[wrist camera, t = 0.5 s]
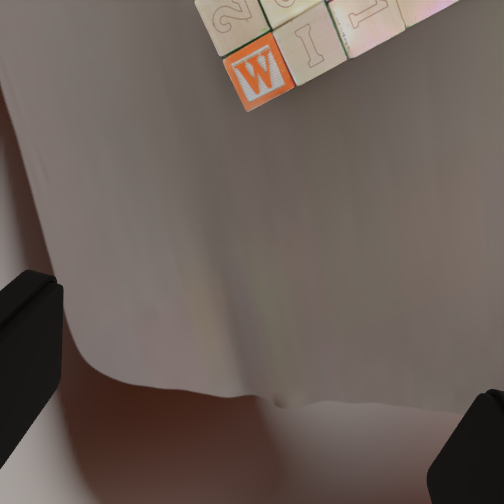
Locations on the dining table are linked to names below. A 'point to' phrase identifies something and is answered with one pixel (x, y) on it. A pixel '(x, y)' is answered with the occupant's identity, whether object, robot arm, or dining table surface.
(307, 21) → the stack of blocks
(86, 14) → the dining table surface
